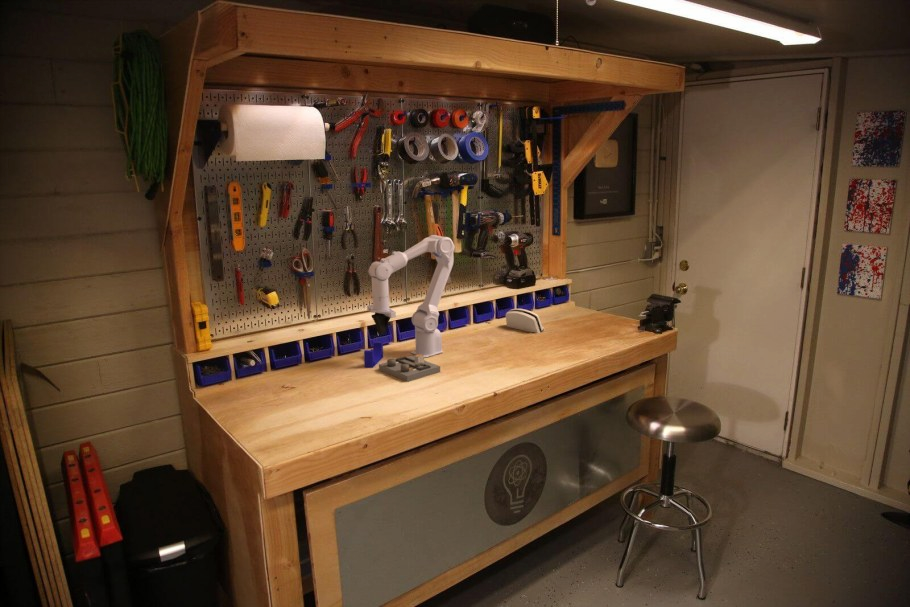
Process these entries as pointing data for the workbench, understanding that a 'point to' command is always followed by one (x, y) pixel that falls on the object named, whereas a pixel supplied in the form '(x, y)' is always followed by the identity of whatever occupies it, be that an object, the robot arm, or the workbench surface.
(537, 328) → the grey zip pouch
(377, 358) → the blue block
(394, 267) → the robot arm
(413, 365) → the console board
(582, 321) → the workbench surface
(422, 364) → the fader tab
